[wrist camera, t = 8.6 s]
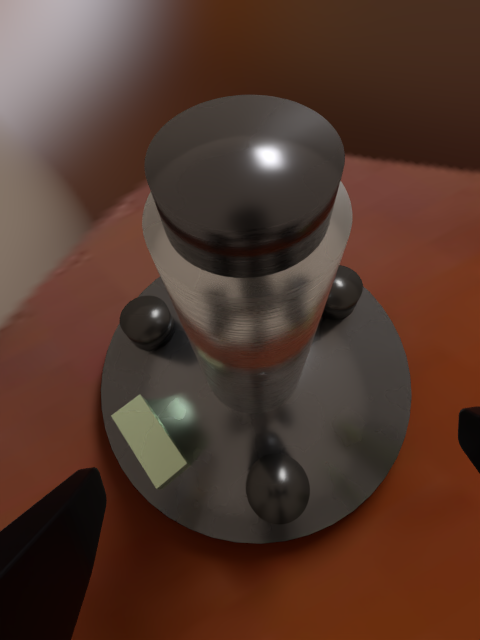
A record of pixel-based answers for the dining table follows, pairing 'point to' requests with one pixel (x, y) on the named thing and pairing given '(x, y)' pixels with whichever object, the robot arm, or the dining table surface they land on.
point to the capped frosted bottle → (248, 237)
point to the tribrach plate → (258, 422)
